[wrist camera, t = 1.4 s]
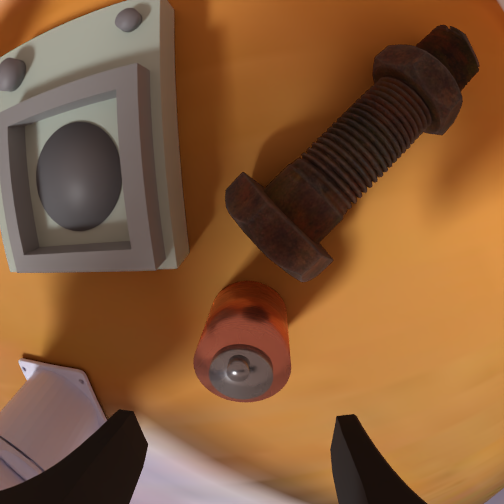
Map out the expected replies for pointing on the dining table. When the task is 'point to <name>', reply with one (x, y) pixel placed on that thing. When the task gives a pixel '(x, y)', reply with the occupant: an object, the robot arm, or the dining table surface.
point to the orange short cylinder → (245, 344)
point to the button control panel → (93, 145)
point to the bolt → (355, 151)
